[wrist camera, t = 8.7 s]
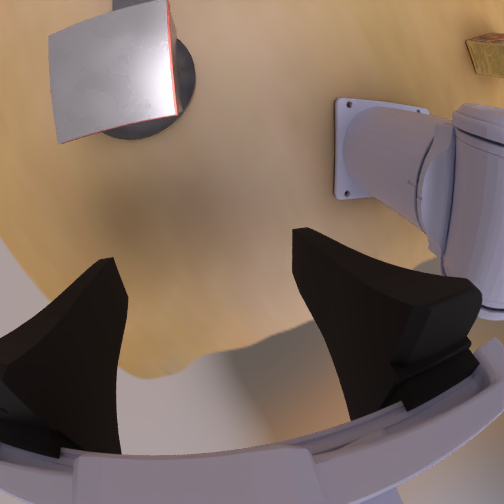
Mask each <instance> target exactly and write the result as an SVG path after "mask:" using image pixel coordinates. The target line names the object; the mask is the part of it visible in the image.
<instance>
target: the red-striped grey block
mask: <svg viewBox="0 0 504 504" xmlns="http://www.w3.org/2000/svg"><path fill="white" fill-rule="evenodd" d="M49 72H50V86H51V97H52V106H53V113H54V120H55V127H56V133H57V139H58V144H61V143H62V144H64V143H67V142H70V141H73V140H76V139H79V138H82V137H85V136H89V135H92V134H95V133H99V132H102V131H106V130H110V129H114V128H118V127H122V126H126V125H130V124H134V123H139V122H143V121H148V120H153V119H158V118H163V117H169V116H174V115H178V113H180V112H182V111H183V106H182V96H181V86H180V75H179V64H178V51H177V37H176V28H175V25H174V22H173V19H172V15H171V12H170V4H169V1H167V0H156V1H151V2H147V3H142V4H138V5H134V6H130V7H126V8H122V9H119V10H115V11H112V12H109V13H106V14H102V15H99V16H96V17H94V18H91V19H88V20H85V21H83V22H80V23H77V24H75V25H72V26H70V27H68V28H65V29H63V30H61V31H58V32H56V33H54V34H52V35H50V36H49Z"/></svg>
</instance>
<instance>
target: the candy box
mask: <svg viewBox="0 0 504 504" xmlns="http://www.w3.org/2000/svg"><path fill="white" fill-rule="evenodd" d="M466 44H467V47H468V49H469V52H470V55H471V58H472V61H473V64H474V67H475V71H476V73H477V74H483V75H489V76H494V77H500V78H504V34H502V33H493V34H489V35H485V36H481V37H478V38H474V39H471V40H467V41H466Z"/></svg>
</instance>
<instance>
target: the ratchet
mask: <svg viewBox="0 0 504 504" xmlns="http://www.w3.org/2000/svg"><path fill="white" fill-rule="evenodd" d="M151 1H156V0H113V11H115V10H119V9H122V8H126V7H130V6H134V5H138V4H142V3H147V2H151ZM177 51H178V64H179V75H180V86H181V96H182V106H183V111H182V112H180V113H178V115H174V116H169V117H163V118H158V119H153V120H148V121H143V122H139V123H134V124H130V125H126V126H122V127H118V128H114V129H110V130H106V131H102V132H103V133H105V134H107V135H109V136H111V137H114V138H119V139H126V140H132V139H141V138H145V137H149V136H151V135H154V134H156V133H158V132H160V131H162V130H164V129H165V128H166V127H168V126H169V125H171V124H172V123H173V122H175V121H176V120H177V119H178V118H179V117H180V116H181V115H182V114H183V113H184V111H185V110H186V108H187V107H188V105H189V103H190V102H191V99H192V97H193V94H194V90H195V84H196V75H195V68H194V63H193V60H192V57H191V55H190V53H189V51H188V50H187V48H186V47H185V46H184V44H183V43H182V42H181V41H180V40H178V39H177Z"/></svg>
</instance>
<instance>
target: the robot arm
mask: <svg viewBox="0 0 504 504" xmlns="http://www.w3.org/2000/svg"><path fill="white" fill-rule="evenodd" d="M347 102H349V103H350V106H349V108H348V107H347V106H346V103H347ZM417 111H418V112H417ZM335 129H336V144H335V187H334V195H335V197H336V198H337V199H339V200H346V199H357V198H368V197H375V198H376V199H378V200H379V201H381V202H382V203H384V204H385V205H387V206H388V207H389V208H391V209H392V210H394V211H395V212H397V213H398V214H399V215H401V216H402V217H403V218H405V219H406V220H408V221H409V222H410V223H412V224H413V225H414V226H416V227H417V228H418V229H420V230H421V231H422V232H424V233H425V234H426V235H427V236H428V240H429V250H430V251H432V252H433V253H434V254H435V255H436V256H437V257H439V258H440V259H441V261H440V266H439V275H434V274H429V273H423V272H418V271H414V270H410V269H406V268H402V267H399V266H395V265H392V264H389V263H386V262H383V261H380V260H377V259H375V258H372V257H369V256H367V255H365V254H362V253H360V252H358V251H356V250H353V249H351V248H349V247H347V246H345V245H343V244H341V243H339V242H337V241H335V240H333V239H331V238H329V237H327V236H325V235H323V234H321V233H319V232H317V231H315V230H313V229H310V228H308V227H306V228H299V229H292V273H293V276H294V279H295V281H296V284H297V287H298V289H299V292H300V294H301V296H302V298H303V299H304V301H305V303H306V305H307V307H308V309H309V311H310V312H311V314H312V316H313V318H314V320H315V322H316V324H317V325H318V327H319V329H320V331H321V333H322V335H323V337H324V339H325V342H326V344H327V347H328V349H329V352H330V355H331V357H332V360H333V363H334V366H335V369H336V372H337V374H338V377H339V380H340V384H341V387H342V390H343V393H344V397H345V400H346V404H347V407H348V412H349V415H350V419H351V421H350V422H347V423H344V424H341V425H339V426H335V427H332V428H329V429H326V430H322V431H319V432H316V433H312V434H309V435H305V436H301V437H297V438H293V439H289V440H285V441H281V442H275V443H271V444H266V445H261V446H255V447H250V448H243V449H236V450H230V451H222V452H213V453H202V454H188V455H160V456H159V455H158V456H149V455H147V456H146V455H122V453H121V447H120V441H119V434H118V424H117V411H116V376H117V366H118V359H119V354H120V349H121V344H122V339H123V334H124V329H125V324H126V319H127V310H128V295H127V293H126V290H125V288H124V285H123V282H122V280H121V277H120V275H119V272H118V269H117V266H116V264H115V261H114V258H113V257H111V258H105V259H100V260H99V261H97V262H96V263H94V264H93V265H92V266H91V267H90V268H88V269H87V270H86V271H85V272H84V273H83V274H82V275H81V276H80V277H79V278H77V279H76V280H75V281H74V282H73V283H72V284H71V285H70V286H69V287H68V288H67V289H66V290H65V291H63V292H62V293H61V294H60V295H59V296H58V297H57V298H56V299H55V300H54V301H52V302H51V303H50V304H49V305H48V306H47V307H46V308H44V309H43V310H42V311H40V312H39V313H38V314H36V315H35V316H34V317H32V318H31V319H30V320H28V321H27V322H25V323H24V324H22V325H21V326H20V327H18V328H17V329H15V330H13V331H12V332H10V333H9V334H7V335H5V336H3V337H2V338H0V491H2V492H4V493H6V494H8V495H10V496H12V497H14V498H16V499H18V500H21V501H23V502H25V503H27V504H403V503H402V500H401V498H400V496H399V493H398V491H397V488H396V487H397V486H399V485H401V484H403V483H405V482H407V481H408V480H410V479H412V478H414V477H416V476H417V475H419V474H421V473H422V472H424V471H426V470H428V469H429V468H431V467H433V466H434V465H436V464H437V463H439V462H440V461H442V460H443V459H445V458H446V457H448V456H449V455H451V454H452V453H454V452H455V451H456V450H458V449H459V448H461V447H462V446H463V445H465V444H466V443H467V442H469V441H470V440H471V439H472V438H474V437H475V436H476V435H477V434H479V433H480V432H481V431H482V430H483V429H485V428H486V427H487V426H488V425H489V424H491V423H492V422H493V421H494V420H495V419H496V418H497V417H498V416H499V415H500V414H502V413H503V412H504V346H503V345H502V343H501V342H500V341H499V340H498V339H497V338H496V337H494V338H493V339H491V340H490V341H488V342H487V343H486V344H484V345H482V346H481V347H480V348H478V349H477V350H476V351H475V352H474V353H473V354H472V352H471V351H470V350H469V347H470V346H471V341H470V340H469V339H468V337H467V335H468V333H469V331H470V329H471V327H472V325H473V323H474V322H475V320H476V318H477V317H479V318H483V319H487V320H504V109H501V108H496V107H491V106H486V105H479V104H463V105H461V106H460V107H459V108H458V110H455V111H454V112H453V113H452V120H449V119H445V118H441V117H436V116H432V115H430V112H429V110H428V109H426V108H421V107H415V106H410V105H403V104H397V103H390V102H382V101H373V100H364V99H352V98H338V99H337V100H336V101H335ZM346 191H348V193H347V195H345V192H346Z"/></svg>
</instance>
